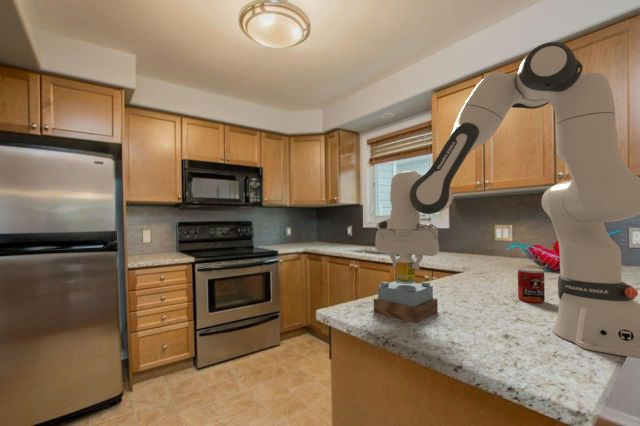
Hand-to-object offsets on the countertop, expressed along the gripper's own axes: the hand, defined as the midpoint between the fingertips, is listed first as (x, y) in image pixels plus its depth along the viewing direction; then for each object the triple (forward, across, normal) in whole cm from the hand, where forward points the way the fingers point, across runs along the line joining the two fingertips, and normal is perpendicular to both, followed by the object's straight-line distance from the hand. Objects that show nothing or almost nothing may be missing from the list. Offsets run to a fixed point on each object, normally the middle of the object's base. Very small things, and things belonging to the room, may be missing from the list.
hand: (405, 268), depth 93 cm
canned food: (+14, -25, -42) cm, 51 cm away
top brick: (+10, 0, 0) cm, 10 cm away
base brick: (+14, 0, 0) cm, 14 cm away
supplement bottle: (+5, 0, 0) cm, 5 cm away
